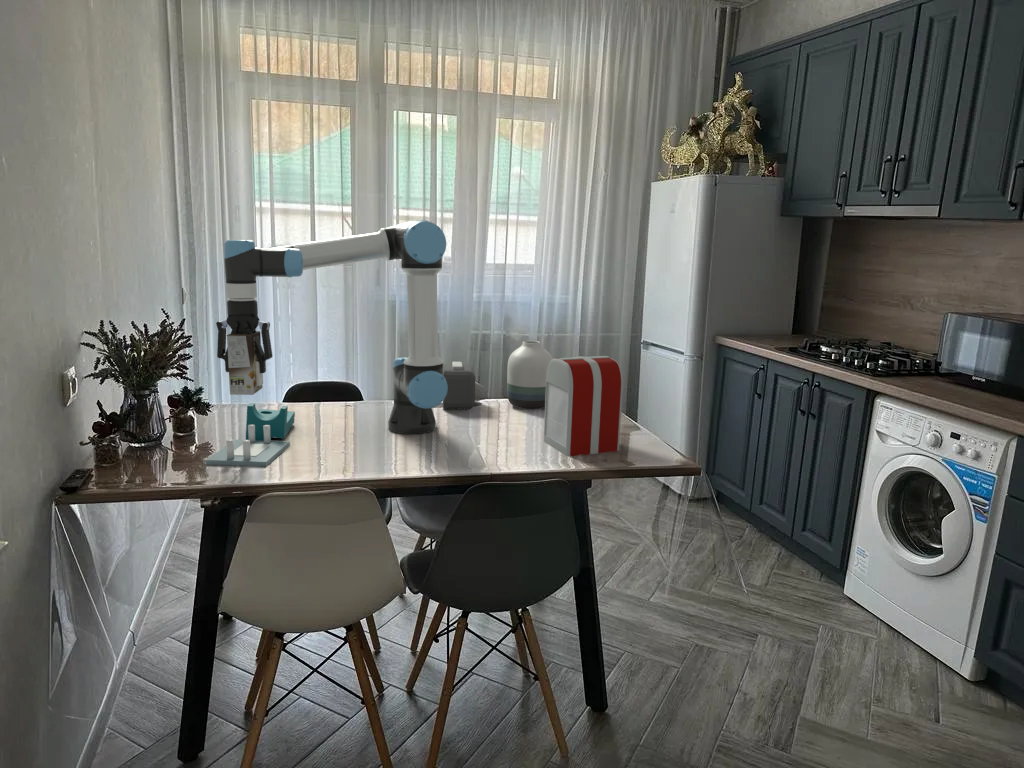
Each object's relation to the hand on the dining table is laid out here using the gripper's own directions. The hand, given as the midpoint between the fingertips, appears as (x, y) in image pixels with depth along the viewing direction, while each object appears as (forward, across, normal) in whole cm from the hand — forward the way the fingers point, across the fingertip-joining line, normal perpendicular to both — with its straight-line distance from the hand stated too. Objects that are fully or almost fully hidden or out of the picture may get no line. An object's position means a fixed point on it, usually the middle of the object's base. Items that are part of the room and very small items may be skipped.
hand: (246, 384), depth 189 cm
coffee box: (+2, 0, 0) cm, 2 cm away
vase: (+20, -78, -66) cm, 104 cm away
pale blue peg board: (+20, 0, 0) cm, 20 cm away
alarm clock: (+20, -52, -64) cm, 85 cm away
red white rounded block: (+20, -93, -18) cm, 97 cm away
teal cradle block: (+20, +2, -22) cm, 30 cm away
